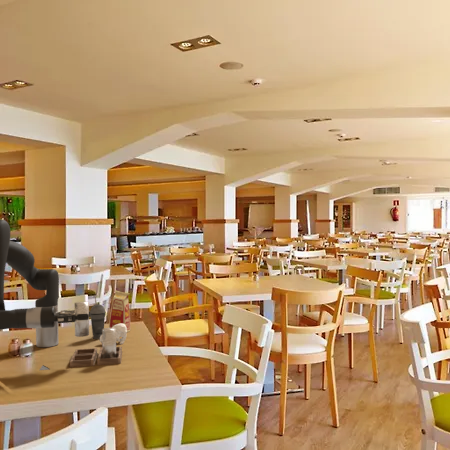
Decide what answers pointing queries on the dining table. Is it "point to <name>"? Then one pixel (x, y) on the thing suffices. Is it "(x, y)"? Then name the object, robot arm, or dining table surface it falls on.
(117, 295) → the milk carton
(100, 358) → the tray
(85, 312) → the steel billet
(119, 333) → the white animal figurine
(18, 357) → the dining table surface
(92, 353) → the tray
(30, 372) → the dining table surface
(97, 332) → the beverage cup
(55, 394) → the dining table surface
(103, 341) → the cylinder
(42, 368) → the rubber mat
